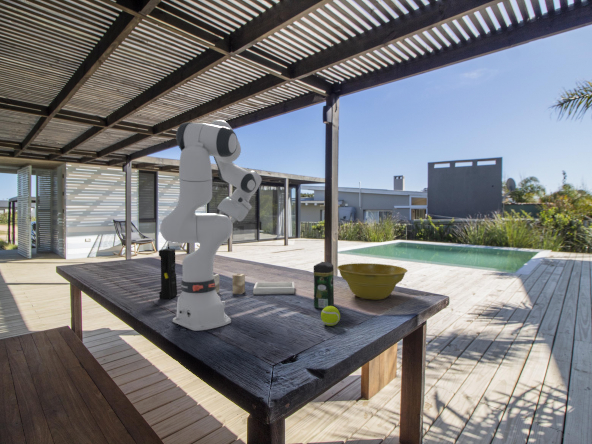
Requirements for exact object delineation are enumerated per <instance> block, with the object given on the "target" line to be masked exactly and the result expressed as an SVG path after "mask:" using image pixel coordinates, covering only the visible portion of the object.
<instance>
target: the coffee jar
mask: <svg viewBox="0 0 592 444" xmlns="http://www.w3.org/2000/svg"><path fill="white" fill-rule="evenodd" d="M334 270H335V269H334V264H333V263H331V261H321V262H319V263H316V264H315V265H313V307H314V308H316V309H319V310H323V309H324V308H325V307H327V306H334V304H335V299H334V298H335V296H334V295H335V294H334V292H335V291H334V288H335V287H334V286H335V285H334V272H335V271H334Z"/></svg>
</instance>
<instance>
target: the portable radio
mask: <svg viewBox="0 0 592 444" xmlns="http://www.w3.org/2000/svg"><path fill="white" fill-rule="evenodd" d="M158 256H159V257H160V291H159V293H158V294H159V295H158V296H159V299H161V300H171V299H173V298H175V297H176V296H177V295H178V289H177V288H178V287H177V285H178V284H177V273H176V249H175V248H170V244H169V243H167V248H163V249H159V250H158Z"/></svg>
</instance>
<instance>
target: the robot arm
mask: <svg viewBox="0 0 592 444" xmlns="http://www.w3.org/2000/svg"><path fill="white" fill-rule="evenodd" d="M175 134H176V135H175V139H176V143H177V145H178V148H179V149H180V151H181V152H180V158H179V165H178V171H179V172H178V177H179V180H178V181H179V194H178V195H179V197H178V201H177V204H176V206H175V208H173V210H172V211H170V213H168V214H167V215H166V216H165V217H164V218H163V219H162V220H161V223H160V234H161V236H162V238H163V239H164V240H165V241H166V242H170V243H176V244H193V243H197V244H199V247H198V248H197V250H195V251H191V253H189V254H187V255H185V256H184V258H182V259H183V260H182V263H181V265H182V267H181V268H182V269H181V270H182V280H181V282H180V283H181V284H180V287H181V293H180V295H178V297H177V305H176V316H175V317H173V318H172V323H174V324H176V325H177V324H178V326H179V325H180V326H181V327H183V328H187V329H189V330H192V331H195V332H196V331H197V332H198V331H207V330H211V329H216V328H219V327H220V328H221V327H224V326H226V325H228V324H231V323H232V319H231V317H230V316H228V315H227V313H226V312H225V308H226V301H225V300H222V299H221V296H220V295H219V294H218V293H217V292H216V290H215V289H216V286H215V280H214V278H213V274H214V266H215V265H214V263H215V257H216V254H217V252H218V250H219V248H220V247H221V246H222V245H223V244H224V243H225V242H226V241H228V240H229V239H230V238H231V236H232V234H233V231H234V230H233V229H234V226H233V224H234V223H235V222H236V221H238V222H242V221H244V220H245V218H246V217H247V215H248V213H250V212H249V211H251V210H252V208H253V206H252V204H251V203H250V200H251V198H252V196H254V195H255V193H256V192H257V190H258V189H259V188H260V185H261V184H262V180H263V178H262V177H261V175H260V174H259V173H258V172H256V171H255V170H250V171H249V170H247V169H245V168H243V167H240V166H239V165H237V164H235V163H234V162H235V161H236V160H237V159H238V158H239V157H240V155H241V153H242V150H241V149H242V148H241V143H240V141H239V138H238V137H237V134H236V132H235V131H234V129H233V128H232V127H231V126H230V124H229V123H228V122H226V121H225V120H222V119H217V120H213V121H211V122H210V123H205V122H183V123H181V124H180V125H179V126H178V128H177V130H176V133H175ZM210 157H213V159H214V162H215V164H216V166H217V173H218V178H219V179H220V180H221V181H224V182H226V183H228V184H229V185H231V186H233V187H235V190H234V191H233V193H231V195H228V196H227V197H224V198H223V199H222V200H221V202H220V203H219V204H218V205H217V210H219V211H218V213H197V212H196V210H198V209H199V208H201V207H204V206H206V205H207V204H208V203H210V202H211V200H212V199H213V171H212V163H211V158H210ZM230 217H231V218H230Z"/></svg>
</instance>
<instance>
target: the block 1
mask: <svg viewBox="0 0 592 444" xmlns="http://www.w3.org/2000/svg"><path fill="white" fill-rule="evenodd" d="M213 278H214V280H215V286H216V289H215V290H216V292H217V294H218V293H220V273H213Z"/></svg>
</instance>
